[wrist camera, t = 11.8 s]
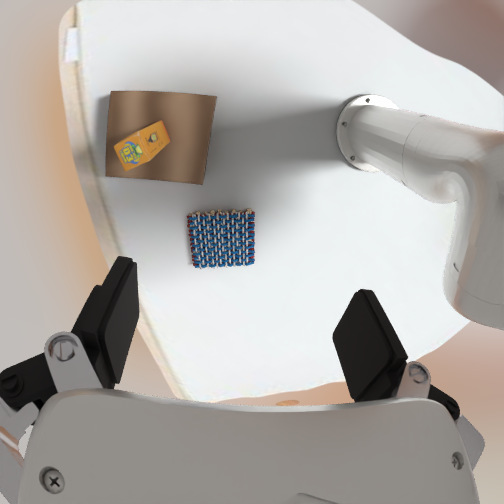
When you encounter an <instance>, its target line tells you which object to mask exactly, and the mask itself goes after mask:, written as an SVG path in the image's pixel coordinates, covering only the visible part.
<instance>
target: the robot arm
mask: <svg viewBox="0 0 504 504" xmlns="http://www.w3.org/2000/svg"><path fill="white" fill-rule="evenodd" d="M365 99H366V102H365ZM342 122H344V124H343V125H342ZM336 133H337V141H338V145H339V148H340V150H341V152H342V154H343V155H344V157H345V158H346V159H347V160H348V161H349V162H350V163H351V164H352V165H354V166H355V167H357V168H359V169H360V170H363V171H367V172H379V171H382V172H384V173H385V174H387V175H388V176H390V177H392V178H393V179H395V180H396V181H398V182H400V183H401V184H403V185H404V186H406V187H407V188H409V189H410V190H412V191H413V192H415V193H416V194H418V195H419V196H421V197H422V198H424V199H426V200H428V201H430V202H433V203H439V204H445V203H451V202H455V201H457V207H456V215H455V223H454V229H453V233H452V238H451V243H450V247H449V251H448V255H447V260H446V264H445V269H444V274H443V290H444V294H445V296H446V299H447V301H448V302H449V304H450V305H451V306H452V307H453V308H454V309H455V310H456V311H457V312H458V313H459V314H461V315H462V316H464V317H465V318H467V319H469V320H471V321H474V322H476V323H479V324H482V325H485V326H489V327H492V328H497V329H501V330H504V132H503V131H497V130H490V129H483V128H478V127H473V126H468V125H464V124H459V123H456V122H452V121H448V120H445V119H441V118H437V117H433V116H429V115H425V114H421V113H417V112H412V111H407V110H402V109H398V108H397V106H396V105H395V104H394V103H392V102H391V101H390V100H388V99H386V98H384V97H381V96H378V95H363V96H359V97H357V98H355V99H353V100H352V101H351V102H349V103H348V104H347V105H346V106H345V108H344V109H343V110H342V112H341V114H340V116H339V119H338V123H337V130H336ZM351 156H352V157H351ZM350 157H351V158H350ZM138 319H139V298H138V281H137V263H136V262H133V260H132V258H128V257H122V256H118V257H117V259H116V261H115V262H114V264H113V266H112V268H111V270H110V271H109V274H108V275H107V277H106V279H105V280H104V282H103V284H102V286H100V285H96V286H95V287H94V288H93V290H92V292H91V294H90V296H89V297H88V299H87V301H86V303H85V305H84V307H83V309H82V311H81V313H80V314H79V317H78V318H77V321H76V322H75V325H74V327H73V329H72V331H71V333H70V332H59V333H56V334H54V335H52V336H51V337H50V338H49V339H48V340H47V342H46V343H45V347H44V353H42V354H39V355H37V356H35V357H33V358H30V359H28V360H26V361H23V362H21V363H18V364H16V365H14V366H11V367H9V368H7V369H5V370H3V371H2V372H1V373H0V492H1V493H2V494H3V496H4V497H5V498H6V499H7V500H8V502H9V503H10V504H480V502H479V497H478V492H477V487H476V483H475V479H474V476H473V472H472V471H473V469H474V467H475V465H476V464H477V462H478V460H479V458H480V456H481V454H482V452H483V449H484V446H485V442H484V439H483V437H482V435H481V434H480V433H479V432H478V431H477V430H476V429H475V428H474V427H473V425H472V424H471V423H470V422H469V421H468V420H467V419H466V418H465V417H464V416H463V415H461V416H459V415H460V409H459V406H458V404H457V402H456V401H455V400H454V399H453V398H451V397H450V396H448V395H447V394H445V393H444V392H442V391H441V390H439V389H438V388H436V387H434V386H433V385H431V384H430V382H431V376H430V373H429V371H428V369H427V368H426V367H425V366H424V365H422V364H421V363H419V362H415V361H412V362H409V363H408V364H407V363H406V360H407V359H408V356H407V354H406V352H405V350H404V348H403V346H402V344H401V342H400V340H399V338H398V336H397V334H396V332H395V330H394V328H393V326H392V325H391V323H390V321H389V319H388V317H387V315H386V313H385V312H384V310H383V308H382V306H381V304H380V303H379V301H378V299H377V297H376V295H375V294H374V292H373V291H372V290H366V289H360V290H359V291H358V292H356V293H355V294H354V296H353V297H352V299H351V301H350V303H349V305H348V307H347V309H346V311H345V312H344V314H343V316H342V318H341V320H340V322H339V323H338V325H337V327H336V329H335V330H334V332H333V342H334V345H335V348H336V351H337V354H338V357H339V360H340V363H341V367H342V370H343V373H344V376H345V379H346V383H347V386H348V389H349V392H350V396H351V398H352V399H354V401H355V403H345V404H332V405H314V406H249V405H248V406H247V405H230V404H216V403H206V402H196V401H188V400H180V399H172V398H165V397H158V396H151V395H146V394H140V393H134V392H127V391H121V390H115V389H114V386H115V383H117V384H119V383H120V380H121V377H122V373H123V369H124V365H125V361H126V358H127V355H128V351H129V348H130V344H131V341H132V338H133V335H134V331H135V328H136V325H137V322H138ZM30 425H34V427H33V429H32V432H31V435H30V438H29V442H28V445H27V450H26V453H25V458H24V459H23V457H22V456H21V454H20V453H19V448H18V443H19V440H20V438H21V437H22V436H23V435H24V434H25V433H26V432H25V430H26V429H27V428H28V427H29V426H30ZM59 471H60V472H59Z"/></svg>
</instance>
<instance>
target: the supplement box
mask: <svg viewBox="0 0 504 504" xmlns="http://www.w3.org/2000/svg"><path fill="white" fill-rule="evenodd" d="M168 143H170V138H169V135H168V133H167V131H166V128H165V126H164V124H163V121H162V120H160V121H158V122H156V123H154V124H152V125H150V126H148V127H146V128H144V129H142V130H140V131H137V132H135V133H133V134H132V135H130V136H128V137H127V138H125V139H123V140H122V141H120V142H119V143H117V144H116V145H115V146H114V149H115V151H116V153H117V155H118V157H119V160H120V162H121V164H122V166H123V168H124V170H125V172H126V171H128V170H130V169H133V168H135V167H137V166H139V165H141V164H144V163H146V162H148V161H150V160H151V159H152V158H153V157H154V156H155V155H156V154H157V153H158V152H159V151H160V150H162V149H163V148H164V147H165V146H166V145H167V144H168Z"/></svg>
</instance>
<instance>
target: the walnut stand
mask: <svg viewBox="0 0 504 504" xmlns="http://www.w3.org/2000/svg"><path fill="white" fill-rule="evenodd" d="M216 100H217V96H208V95H199V94H188V93H175V92H156V91H111V95H110V104H109V114H108V126H107V141H106V176H109V177H124V178H138V179H150V180H162V181H172V182H182V183H191V184H200V185H203V180H204V175H205V168H206V161H207V154H208V148H209V141H210V135H211V129H212V123H213V117H214V111H215V105H216ZM160 120H162V121H163V124H164V126H165V128H166V131H167V133H168V135H169V138H170V143H168V144H167V145H166V146H165V147H164V148H163V149H162V150H160V151H159V152H158V153H157V154H156V155H155V156H154V157H153V158H152V159H151V160H150V161H148V162H146V163H144V164H141V165H139V166H137V167H135V168H133V169H130V170H128V171H126V172H125V170H124V168H123V166H122V164H121V162H120V160H119V157H118V155H117V153H116V151H115V149H114V146H115V145H116V144H117V143H119V142H120V141H122V140H123V139H125V138H127V137H128V136H130V135H132V134H133V133H135V132H137V131H140V130H142V129H144V128H146V127H148V126H150V125H152V124H154V123H156V122H158V121H160Z"/></svg>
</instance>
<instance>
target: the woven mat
mask: <svg viewBox="0 0 504 504" xmlns="http://www.w3.org/2000/svg"><path fill="white" fill-rule="evenodd" d="M189 214H190V216H187V218H189V220H188V223H190V224H188V225H187V227H190V229H191V230H189V232H190V234H189V236H191V238H190V241H191V242H192V243H190V245H192V247H191V249H192V250H191V252H192V253H193V255H192V258H194V259H192V261H194V263H193V266H195V268H200V269H202V268H205V267H208V268H209V267H211V268H212V267H213V269H214V268H215V266H217V268H218V266H219V267H222V266H224V267H225V265H226V267H227V266H230V267H231V266H233V265H234V266H235V265H237V266H241V265H243V266H245V265H246V266H248V265H251V264H254V261H255V259H254V253H255V251H254V244H255V242H254V235H255V233H254V231H251V230H254V227H255V224H254V222H251V221H254V217H255V215H254V214H255V212H252V211H251V209H249V208H248V209H247V211H246V212H243V211H242V210H239V212H238V213H237V212H236V210H235V209H233V210H232V213H230V214H229V211H225V214H224V213H223V214H222V211H221V209H218V213H215V211H214V210H211V211H210V213H209V214H208V213H207V212H204V215H201V214H200V211H197V212H196V215H195V214H193V213H189ZM237 217H238V218H237ZM208 218H209V219H208ZM216 218H217V219H216ZM201 219H202V220H201ZM231 222H232V223H231ZM215 223H216V224H215ZM209 230H210V231H209ZM232 240H233V241H232ZM251 241H253V242H251ZM244 250H245V251H244ZM201 267H202V268H201Z"/></svg>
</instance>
